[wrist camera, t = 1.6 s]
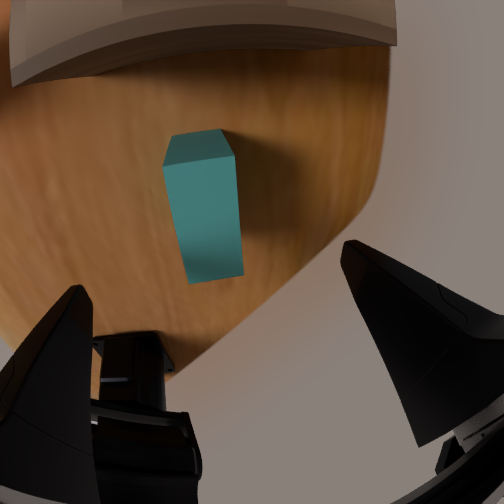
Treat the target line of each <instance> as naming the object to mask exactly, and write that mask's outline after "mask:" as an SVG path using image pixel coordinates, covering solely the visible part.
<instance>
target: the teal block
mask: <svg viewBox="0 0 504 504" xmlns="http://www.w3.org/2000/svg"><path fill="white" fill-rule="evenodd" d="M163 172H164V178H165V183H166V188H167V193H168V198H169V202H170V207H171V212H172V216H173V221H174V225H175V230H176V234H177V238H178V243H179V247H180V251H181V255H182V259H183V263H184V267H185V270H186V274H187V278H188V282H189V284H193V283H199V282H206V281H212V280H218V279H224V278H230V277H236V276H242V275H244V271H243V259H242V246H241V233H240V220H239V207H238V194H237V180H236V166H235V155H234V153H233V152H232V150H231V148H230V146H229V144H228V142H227V140H226V138H225V137H224V135H223V133H222V131H221V129H215V130H207V131H200V132H193V133H187V134H180V135H175V136H172V137H171V140H170V143H169V146H168V149H167V153H166V156H165V160H164V163H163Z"/></svg>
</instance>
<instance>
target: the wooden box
mask: <svg viewBox="0 0 504 504" xmlns="http://www.w3.org/2000/svg"><path fill="white" fill-rule="evenodd" d="M350 46H397V29H396V11H395V0H12V1H11V12H10V30H9V52H10V71H11V82H12V88H14V87H18V86H23V85H28V84H33V83H39V82H45V81H51V80H59V79H67V78H77V77H89V76H93V75H96V74H99V73H103V72H106V71H109V70H112V69H116V68H119V67H123V66H127V65H131V64H135V63H139V62H143V61H148V60H153V59H158V58H163V57H168V56H174V55H181V54H188V53H195V52H204V51H214V50H228V49H255V48H267V49H294V50H316V49H325V48H336V47H350Z"/></svg>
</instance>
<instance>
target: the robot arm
mask: <svg viewBox="0 0 504 504" xmlns="http://www.w3.org/2000/svg"><path fill="white" fill-rule="evenodd" d="M340 263H341V267H342V270H343V272H344V275H345V277H346V280H347V282H348V285H349V287H350V289H351V292H352V295H353V298H354V300H355V302H356V304H357V307H358V309H359V310H360V313H361V315H362V317H363V319H364V321H365V323H366V325H367V327H368V329H369V331H370V333H371V335H372V337H373V339H374V341H375V343H376V345H377V348H378V350H379V352H380V354H381V356H382V358H383V361H384V363H385V365H386V367H387V370H388V372H389V374H390V377H391V379H392V381H393V384H394V386H395V388H396V391H397V393H398V396H399V398H400V400H401V403H402V406H403V408H404V411H405V413H406V416H407V418H408V421H409V424H410V426H411V429H412V432H413V434H414V437H415V440H416V443H417V445H418V447H422V446H424V445H426V444H427V443H430V442H431V441H433V440H435V439H437V438H439V437H440V436H442V435H444V434H446V433H448V432H449V431H451V430H453V432H454V435H453V436H452V437H450V438H449V439H448V440H447V441H445V442H444V443H443V446H442V450H441V453H440V456H439V459H438V462H437V465H436V468H435V471H436V474H437V476H435V477H434V478H432V479H431V480H430V481H428V482H427V483H425V484H423V485H422V486H420V487H419V488H417V489H416V490H414V491H412V492H411V493H409V494H408V495H405V496H404V497H402V498H400V499H398V500H397V501H395V502H393V503H391V504H496V503H497V502H498V501H499V500H500V499H501V498H502V497H504V315H499V314H496V313H494V312H491V311H490V310H488V309H486V308H484V307H482V306H480V305H478V304H476V303H474V302H472V301H470V300H468V299H466V298H464V297H462V296H461V295H459V294H457V293H455V292H453V291H451V290H450V289H448V288H446V287H444V286H442V285H441V284H439V283H436V282H435V281H433V280H432V279H430V278H428V277H426V276H425V275H423V274H421V273H419V272H417V271H415V270H414V269H412V268H410V267H408V266H406V265H404V264H402V263H401V262H399V261H397V260H395V259H393V258H391V257H389V256H387V255H385V254H383V253H382V252H379V251H378V250H376V249H373V248H371V247H370V246H367V245H366V244H364V243H362V242H360V241H358V240H349V241H345V242H344V245H343V249H342V254H341V260H340ZM93 348H94V349H95V350H96V351H97V353H98V354H99V355H100V356H101V358H102V361H101V370H100V388H99V400H96V399H92V398H90V395H91V365H92V349H93ZM174 371H175V366H174V364H173V362H172V360H171V359H170V357H169V355H168V353H167V351H166V350H165V348H164V346H163V344H162V342H161V340H160V338H159V336H158V334H157V333H155V332H145V333H136V334H126V335H116V336H105V337H93V304H92V301H91V299H90V297H89V296H88V294H87V292H86V290H85V288H84V287H83V286H82V285H80V284H79V285H73V286H71V287H70V288H69V289H68V290H67V291H66V292H65V293H64V294H63V295H62V296H61V297H60V298H59V300H58V301H57V302H56V303H55V304H54V305H53V306H52V307H51V308H50V310H49V311H48V312H47V313H46V314H45V315H44V317H43V318H42V319H41V320H40V321H39V322H38V324H37V325H36V326H35V327H34V328H33V330H32V331H31V332H30V333H29V335H28V336H27V337H26V338H25V340H24V341H23V342H22V343H21V345H20V346H19V347H18V349H17V350H16V351H15V353H14V355H13V356H12V357H11V358H10V359H9V361H8V362H7V363H6V365H5V366H4V367H3V369H2V370H1V372H0V504H198V496H197V490H198V481H199V480H200V479H201V476H202V458H201V453H200V450H199V447H198V443H197V440H196V438H195V434H194V430H193V427H192V424H191V420H190V417H189V413H188V412H181V413H179V412H169V411H166V397H165V377H164V373H169V372H174ZM91 421H95V422H98V424H97V425H96V424H92V423H91Z"/></svg>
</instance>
